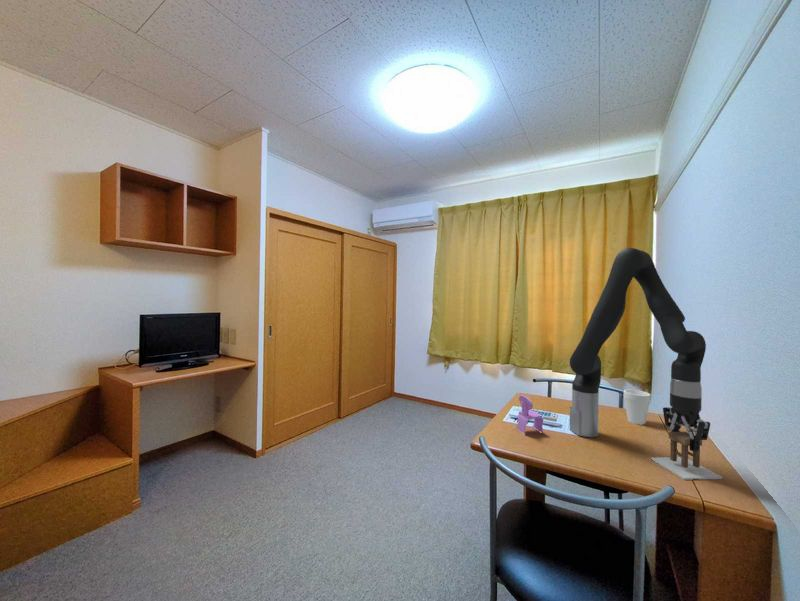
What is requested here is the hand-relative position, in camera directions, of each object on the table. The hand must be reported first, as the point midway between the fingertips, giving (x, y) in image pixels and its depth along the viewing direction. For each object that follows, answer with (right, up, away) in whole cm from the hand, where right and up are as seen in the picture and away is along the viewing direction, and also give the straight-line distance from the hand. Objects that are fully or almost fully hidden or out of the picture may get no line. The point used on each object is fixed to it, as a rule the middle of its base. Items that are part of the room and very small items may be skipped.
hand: (684, 446), depth 101 cm
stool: (0, -6, 0) cm, 6 cm away
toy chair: (-38, -7, +28) cm, 48 cm away
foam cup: (+13, -7, +38) cm, 41 cm away
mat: (0, -7, 0) cm, 7 cm away
